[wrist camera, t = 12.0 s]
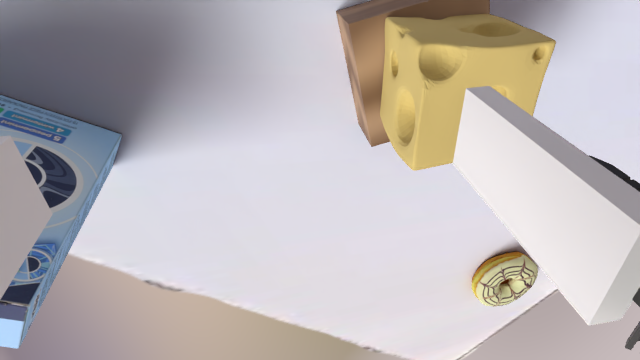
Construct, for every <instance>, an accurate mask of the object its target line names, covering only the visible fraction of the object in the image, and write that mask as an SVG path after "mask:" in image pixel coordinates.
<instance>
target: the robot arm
mask: <svg viewBox="0 0 640 360" xmlns="http://www.w3.org/2000/svg"><path fill="white" fill-rule="evenodd" d="M453 165H454V166H455V167H456V168H457V169H458V171H459V172H460V173H461V174H462V175H463V177H464V178H465V179H466V180H467V181H468V183H469V184H470V185H471V186H472V187H473V188H474V190H475V191H476V192H477V193H478V194H479V196H480V197H481V198H482V199H483V200H484V202H485V203H486V204H487V205H488V206H489V208H490V209H491V210H492V211H493V212H494V214H495V215H496V216H497V217H498V218H499V219H500V221H501V222H502V223H503V224H504V225H505V227H506V228H507V229H508V230H509V231H510V233H511V234H512V235H513V236H514V237H515V239H516V240H517V241H518V242H519V243H520V245H521V246H522V247H523V248H524V249H525V250H526V252H527V253H528V254H529V255H530V256H531V258H532V259H533V260H534V261H535V262H536V264H537V265H538V266H539V267H540V268H541V270H542V271H543V272H544V273H545V274H546V275H547V277H548V278H549V279H550V280H551V281H552V283H553V284H554V285H555V286H556V287H557V289H558V290H559V291H560V292H561V293H562V294H563V296H564V297H565V298H566V299H567V301H568V302H569V303H570V304H571V305H572V306H573V308H574V309H575V310H576V311H577V312H578V314H579V315H580V316H581V317H582V318H583V320H584V321H585V322H586V323H587V324H588V325H589V326H590V325H595V324H601V323H606V322H612V321H617V320H621V319H622V317H623V316H624V314H625V313H626V311H627V309H628V308H629V306H630V305H631V303H632V301H634V302H635V303H636V304H637V305H638V306H639V307H640V184H639V183H638V182H636V181H635V180H630V177H629V176H628V175H626V174H625V173H623V172H622V171H620V170H619V169H617V168H616V167H615V166H613V165H611V164H609V163H606V162H604V161H602V160H599V159H597V158H595V157H592V156H590V155H589V156H588V155H587V154H585V153H584V152H582V151H581V150H579V149H578V148H577V147H575V146H574V145H572V144H571V143H569V142H568V141H567V140H565V139H564V138H562V137H561V136H560V135H558V134H557V133H555V132H554V131H552V130H551V129H550V128H548V127H547V126H545V125H544V124H543V123H541V122H540V121H538V120H537V119H535V118H534V117H533V116H531V115H530V114H528V113H527V112H526V111H524V110H523V109H521V108H520V107H518V106H517V105H516V104H514V103H513V102H511V101H510V100H509V99H507V98H506V97H504V96H503V95H501V94H500V93H499V92H497V91H496V90H494V89H493V88H492V87H490V86H483V87H473V88H466V91H465V97H464V102H463V108H462V114H461V119H460V125H459V131H458V136H457V142H456V148H455V153H454V159H453ZM52 215H53V213H52V212H51V210H50V208H49V206H48V204H47V202H46V200H45V199H44V197H43V195H42V193H41V191H40V189H39V187H38V186H37V184H36V182H35V180H34V178H33V176H32V174H31V173H30V171H29V169H28V167H27V165H26V163H25V161H24V160H23V158H22V156H21V154H20V152H19V150H18V148H17V147H16V145H15V143H14V141H13V139H12V137H11V135H10V136H1V137H0V299H1V298H2V296H3V295H4V293H5V291H6V290H7V288H8V286H9V285H10V283H11V281H12V280H13V278H14V277H15V275H16V273H17V272H18V270H19V268H20V267H21V265H22V264H23V262H24V260H25V259H26V257H27V255H28V254H29V252H30V250H31V249H32V247H33V246H34V244H35V242H36V241H37V239H38V237H39V236H40V234H41V233H42V231H43V229H44V228H45V226H46V224H47V223H48V221H49V220H50V218H51V216H52ZM637 341H640V322H639V323H638V325H637V326H636V328H635V329H634V331H633V332H632V334H631V335H630V337H629V338H628V340H627V342H626V346H625V348H627V349H630V350H631V349H632V348H633V346H634V345H635V344H636V342H637Z"/></svg>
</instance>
